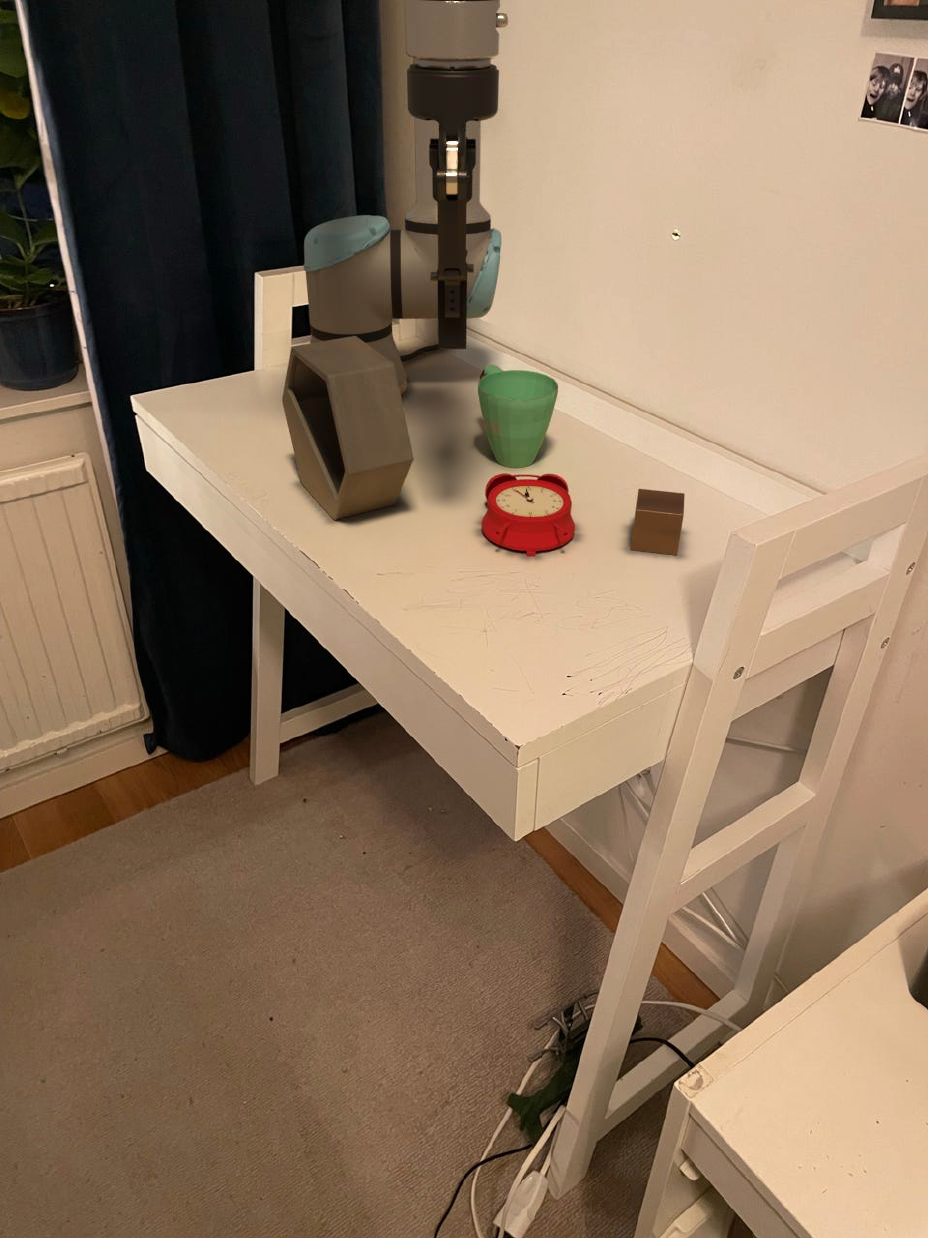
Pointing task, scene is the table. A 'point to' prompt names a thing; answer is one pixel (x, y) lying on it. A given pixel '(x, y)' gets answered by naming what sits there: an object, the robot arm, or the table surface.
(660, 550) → the walnut block
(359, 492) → the hexagonal wooden shelf
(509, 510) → the alarm clock
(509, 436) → the mug
